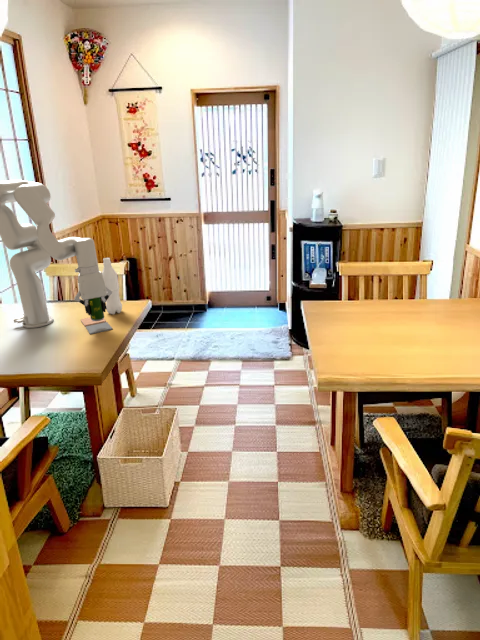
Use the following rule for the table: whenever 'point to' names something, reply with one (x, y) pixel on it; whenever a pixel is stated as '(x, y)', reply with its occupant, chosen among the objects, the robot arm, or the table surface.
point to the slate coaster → (99, 328)
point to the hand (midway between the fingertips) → (96, 312)
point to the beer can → (96, 309)
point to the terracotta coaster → (89, 322)
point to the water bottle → (111, 287)
